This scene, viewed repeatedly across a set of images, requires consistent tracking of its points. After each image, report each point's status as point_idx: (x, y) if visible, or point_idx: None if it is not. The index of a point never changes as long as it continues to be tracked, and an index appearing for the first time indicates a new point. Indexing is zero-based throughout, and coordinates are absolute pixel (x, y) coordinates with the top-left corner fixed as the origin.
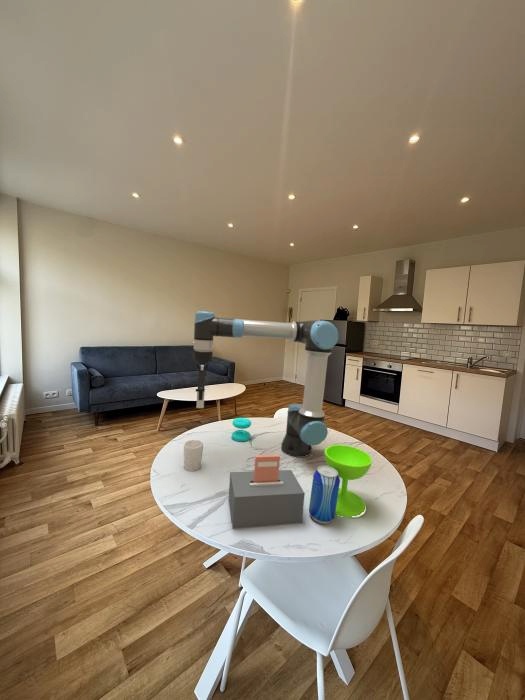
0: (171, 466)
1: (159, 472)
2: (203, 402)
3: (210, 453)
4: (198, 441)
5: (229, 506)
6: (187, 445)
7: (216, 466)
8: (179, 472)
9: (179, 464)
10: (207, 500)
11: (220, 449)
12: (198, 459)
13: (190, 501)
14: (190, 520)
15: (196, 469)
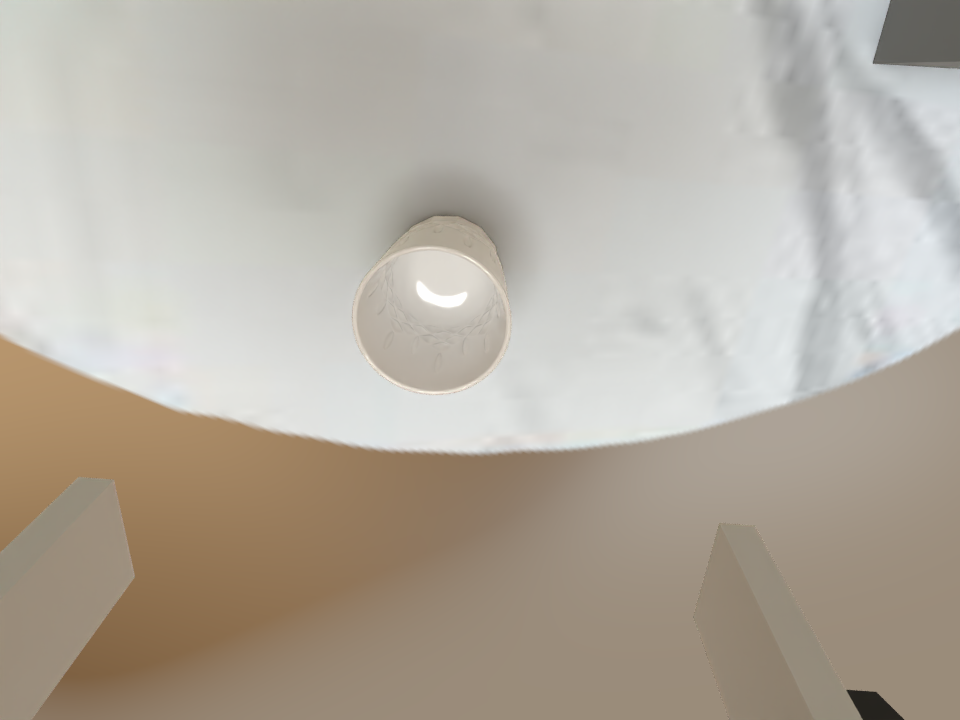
0: None
1: (490, 440)
2: (796, 612)
3: (254, 128)
4: (369, 281)
5: (946, 67)
6: (387, 354)
7: (458, 100)
8: None
9: None
10: (833, 196)
11: (176, 32)
12: (494, 255)
13: (807, 287)
14: (956, 289)
15: (495, 246)
